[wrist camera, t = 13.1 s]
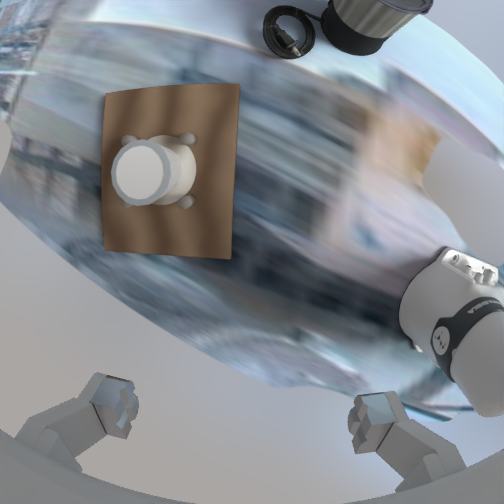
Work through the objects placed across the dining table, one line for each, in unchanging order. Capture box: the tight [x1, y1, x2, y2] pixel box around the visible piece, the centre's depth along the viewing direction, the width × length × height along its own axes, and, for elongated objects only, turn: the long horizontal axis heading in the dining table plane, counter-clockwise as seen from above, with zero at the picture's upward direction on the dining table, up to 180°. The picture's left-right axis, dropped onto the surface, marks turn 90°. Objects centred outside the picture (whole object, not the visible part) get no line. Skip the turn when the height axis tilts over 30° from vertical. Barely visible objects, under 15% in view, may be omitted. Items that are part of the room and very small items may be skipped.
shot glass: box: [111, 139, 183, 206], centre depth 30 cm, size 7×7×7 cm
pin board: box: [101, 84, 240, 259], centre depth 33 cm, size 18×22×5 cm
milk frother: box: [263, 0, 433, 59], centre depth 22 cm, size 14×16×15 cm
